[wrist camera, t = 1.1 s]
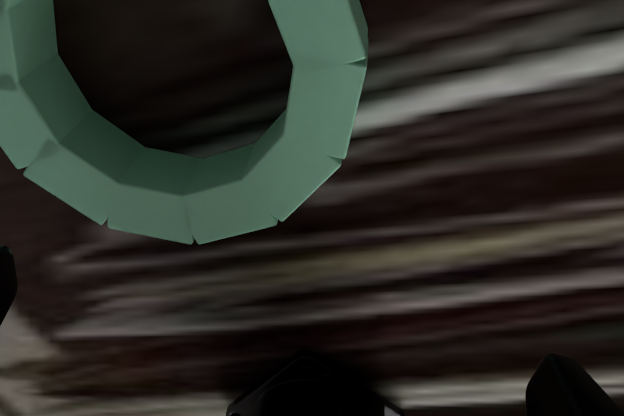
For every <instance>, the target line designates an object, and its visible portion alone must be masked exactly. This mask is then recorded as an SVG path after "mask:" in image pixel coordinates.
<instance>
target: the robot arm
mask: <svg viewBox="0 0 624 416" xmlns="http://www.w3.org/2000/svg"><path fill="white" fill-rule="evenodd" d="M17 289H18V281H17V275H16V269H15V263H14V258H13V253H12V251H11V249H10V248H9V247H7V246H3V245H0V325H1V323H2V322H3V320H4V318H5V316H6V314H7V312H8V310H9V308H10V306H11V304H12V302H13V300H14V298H15V296H16V293H17ZM526 412H527V416H624V412H623V411H622V410H621V409H620V408H619V407H618V406H617V405H616V404H615V403H614V401H613V400H612V399H611V398H610V397H609V396H608V395H607V394H606V393H605V392H604V391H603V389H602V388H601V387H600V386H599V385H598V384H597V383H596V382H595V381H594V380H593V379H592V377H591V376H590V375H589V374H588V373H587V372H586V371H585V370H584V369H583V368H582V367H581V365H580V364H579V363H578V362H577V361H576V360H574V359H573V358H571V357H566V356H561V355H556V354H548V355H546V356H545V357H544V358H543V360H542V361H541V363H540V365H539V366H538V368H537V370H536V371H535V373H534V375H533V376H532V378H531V380H530V381H529V383H528V385H527V389H526ZM226 416H404V411H403V410H402V409H400V408H399V407H397V406H395V405H394V404H392V403H391V402H389V401H388V400H386V399H385V398H383V397H382V396H380V395H379V394H377V393H376V392H374V391H372V390H371V389H369V388H368V387H366V386H365V385H363V384H362V383H360V382H359V381H357V380H356V379H354V378H352V377H351V376H349V375H348V374H346V373H345V372H343V371H342V370H340V369H339V368H337V367H336V366H334V365H333V364H331V363H329V362H328V361H326V360H325V359H323V358H322V357H320V356H319V355H317V354H316V353H314V352H312V351H310V350H301V351H299V352H297V353H296V354H295V355H294V356H292V357H291V358H290V359H288V360H287V361H286V362H284V363H283V364H282V365H280V366H279V367H278V368H277V369H275V370H274V371H273V372H271V373H270V374H269V375H267V376H266V377H265V378H263V379H262V380H261V381H260V382H258V383H257V384H256V385H254V386H253V387H252V388H250V389H249V390H248V391H246V392H245V393H244V394H243V395H241V396H240V397H239V398H237V399H236V400H235V401H233V402H232V403H231V404H230V405H229V406H228V409H227V412H226Z"/></svg>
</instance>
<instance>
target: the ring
mask: <svg viewBox="0 0 624 416" xmlns="http://www.w3.org/2000/svg"><path fill="white" fill-rule="evenodd" d="M268 2H269V5H270V7H271V10H272V12H273V15H274V18H275V20H276V23H277V25H278V28H279V30H280V33H281V35H282V38H283V40H284V43H285V46H286V48H287V51H288V53H289V56H290V58H291V61H292V63H293V71H292V78H291V84H290V90H289V97H288V103H287V109H286V110H285V111H284V112H283V113H282V114H281V115H280V116H279V117H278V119H277V120H276V121H275V122H274V123H273V124H272V125H271V126H270V128H269V129H268V130H267V131H266V132H265V133H264V134H263V135H262V136H261V138H260V139H259V140H258V141H257V142H256V143H254V144H250V145H247V146H244V147H240V148H237V149H233V150H230V151H226V152H223V153H220V154H216V155H213V156H209V157H206V158H203V159H202V158H197V157H193V156H188V155H183V154H178V153H173V152H168V151H163V150H158V149H153V148H148V147H144V146H143V145H141V144H140V143H139V142H137V141H136V140H134V139H133V138H132V137H130V136H129V135H127V134H126V133H125V132H123V131H122V130H120V129H119V128H117V127H116V126H115V125H113V124H112V123H110V122H109V121H108V120H106V119H105V118H103V117H102V116H101V115H99V114H98V113H96V112H95V111H94V110H92V109H91V107H90V105H89V104H88V102H87V100H86V99H85V97H84V95H83V94H82V92H81V91H80V89H79V87H78V86H77V84H76V82H75V81H74V79H73V77H72V76H71V74H70V73H69V71H68V69H67V68H66V66H65V64H64V63H63V61H62V59H61V58H60V56H59V55H58V50H57V39H56V28H55V17H54V6H53V0H0V146H1V148H2V149H3V151H4V152H5V153H6V155H7V156H8V157H9V159H10V160H11V162H12V163H13V164H14V166H15V167H16V168H17V169H20V168H24V167H27V168H26V170H25V171H24V173H23V175H24V176H25V177H27V178H28V179H30V180H31V181H33V182H34V183H36V184H38V185H39V186H41V187H42V188H44V189H45V190H47V191H48V192H50V193H52V194H53V195H55V196H56V197H58V198H59V199H61V200H62V201H64V202H65V203H67V204H69V205H70V206H72V207H73V208H75V209H76V210H78V211H79V212H81V213H83V214H84V215H86V216H87V217H89V218H90V219H92V220H93V221H95V222H97V223H98V224H100V225H102V224H103V223H104V222H105V221H106V219H107V220H108V228H110V229H115V230H121V231H126V232H131V233H136V234H141V235H146V236H151V237H156V238H161V239H166V240H171V241H176V242H181V243H186V244H192V243H193V241H194V239H195V240H196V242H197V243H198V244H203V243H207V242H211V241H215V240H219V239H223V238H227V237H231V236H235V235H239V234H244V233H248V232H252V231H256V230H260V229H264V228H268V227H272V226H275V225H277V221H278V220H280V221H284V220H285V219H286V218H287V217H288V216H289V215H290V214H291V213H292V212H293V211H294V210H296V209H297V208H298V207H299V206H300V205H301V204H302V203H303V202H304V201H305V200H306V199H307V198H308V197H309V196H310V195H311V194H312V193H313V192H314V191H315V190H316V189H317V188H318V187H319V186H320V185H321V184H322V183H323V182H325V181H326V180H327V179H328V178H329V177H330V176H331V175H332V174H333V173H334V172H335V171H336V170H337V169H338V168H339V167H340V166H341V162H342V159H345V157H346V154H347V150H348V146H349V141H350V137H351V133H352V129H353V124H354V120H355V116H356V112H357V107H358V103H359V99H360V95H361V90H362V86H363V82H364V78H365V73H366V69H367V56H368V38H367V35H368V27H367V24H366V20H365V17H364V14H363V11H362V7H361V4H360V1H359V0H268Z"/></svg>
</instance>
